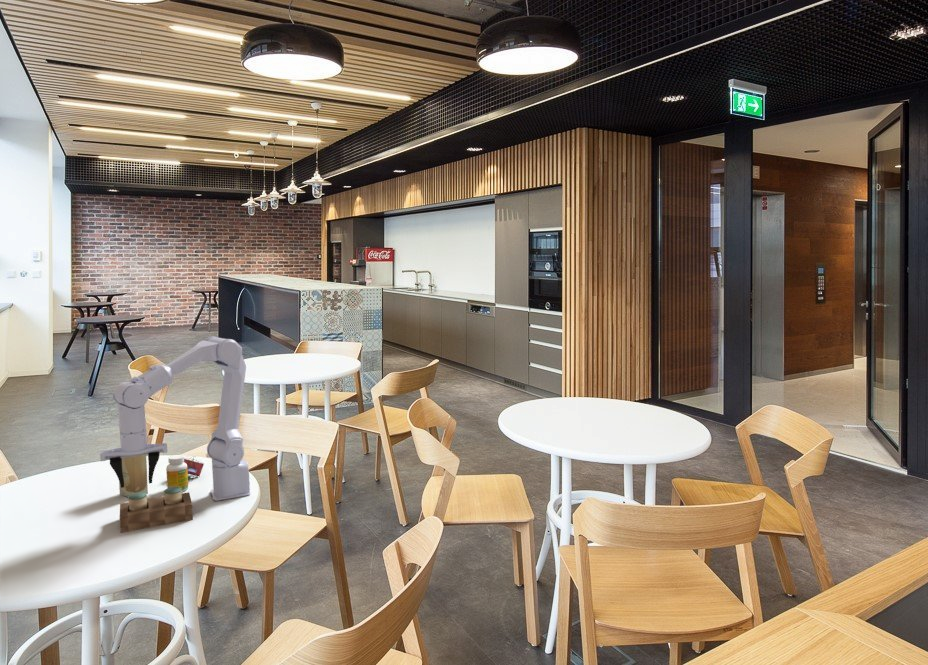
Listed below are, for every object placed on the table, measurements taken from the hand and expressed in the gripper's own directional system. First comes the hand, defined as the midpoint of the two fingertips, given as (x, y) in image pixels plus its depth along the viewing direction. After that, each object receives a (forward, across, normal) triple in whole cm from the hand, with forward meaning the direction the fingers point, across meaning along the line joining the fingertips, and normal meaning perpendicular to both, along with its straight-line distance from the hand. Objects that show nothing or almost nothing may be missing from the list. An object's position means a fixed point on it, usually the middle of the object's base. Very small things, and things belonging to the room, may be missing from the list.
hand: (136, 484), depth 153 cm
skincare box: (+10, +1, -21) cm, 23 cm away
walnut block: (+10, -4, 0) cm, 11 cm away
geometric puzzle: (+10, -14, -28) cm, 33 cm away
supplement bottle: (+10, -10, -19) cm, 24 cm away
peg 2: (+7, -8, 0) cm, 11 cm away
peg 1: (+7, 0, 0) cm, 7 cm away
